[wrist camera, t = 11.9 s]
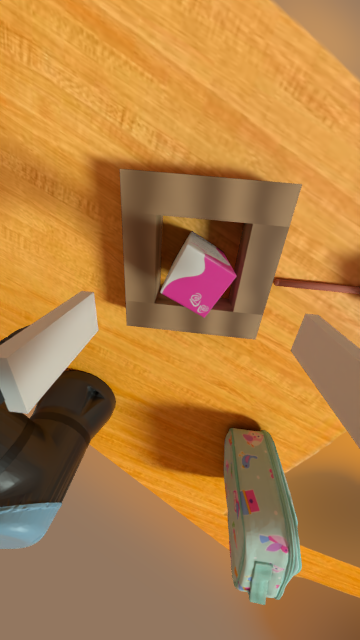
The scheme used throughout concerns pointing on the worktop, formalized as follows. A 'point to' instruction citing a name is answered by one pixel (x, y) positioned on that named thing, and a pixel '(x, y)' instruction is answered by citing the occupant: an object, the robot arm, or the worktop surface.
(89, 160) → the worktop surface
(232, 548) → the lunch box
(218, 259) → the supplement box
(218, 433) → the worktop surface
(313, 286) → the reddish-brown thin rod
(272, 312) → the worktop surface
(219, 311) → the brown wooden square frame
